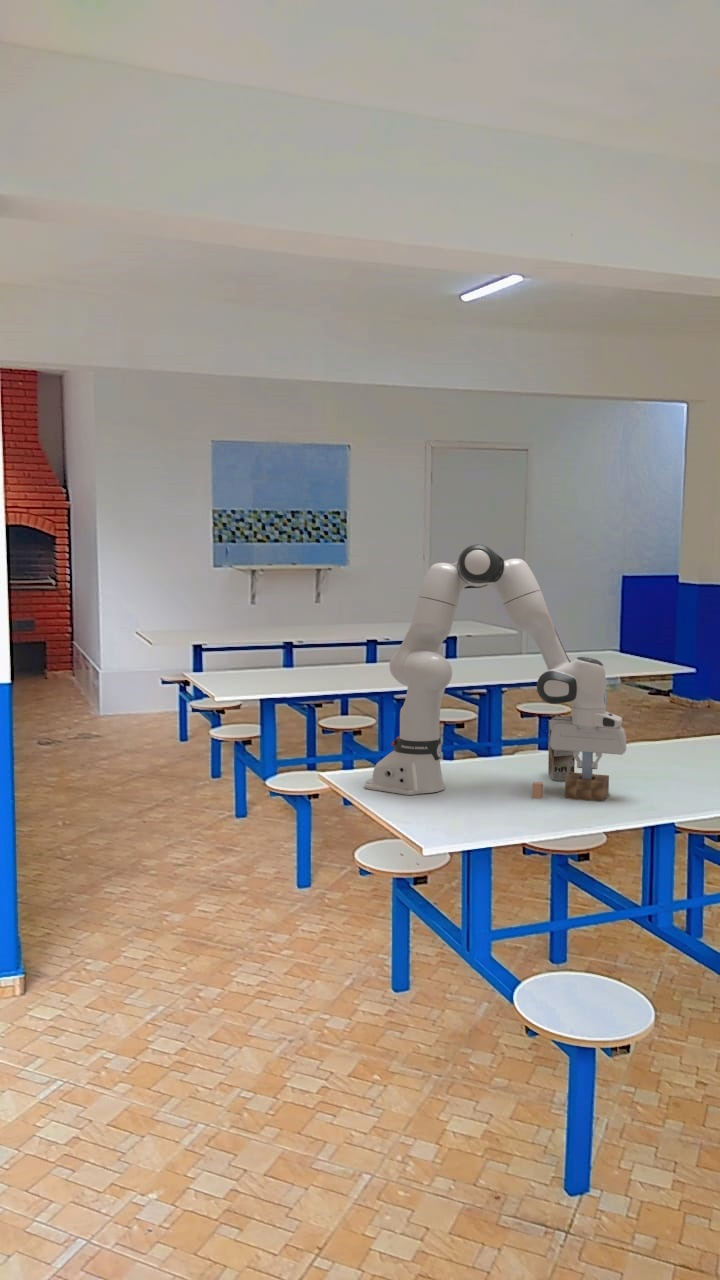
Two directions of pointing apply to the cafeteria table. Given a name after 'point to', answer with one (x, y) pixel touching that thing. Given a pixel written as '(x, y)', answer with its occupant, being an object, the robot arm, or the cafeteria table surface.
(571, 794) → the hole block
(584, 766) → the long peg
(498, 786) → the cafeteria table surface
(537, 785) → the short peg
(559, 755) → the coffee box
